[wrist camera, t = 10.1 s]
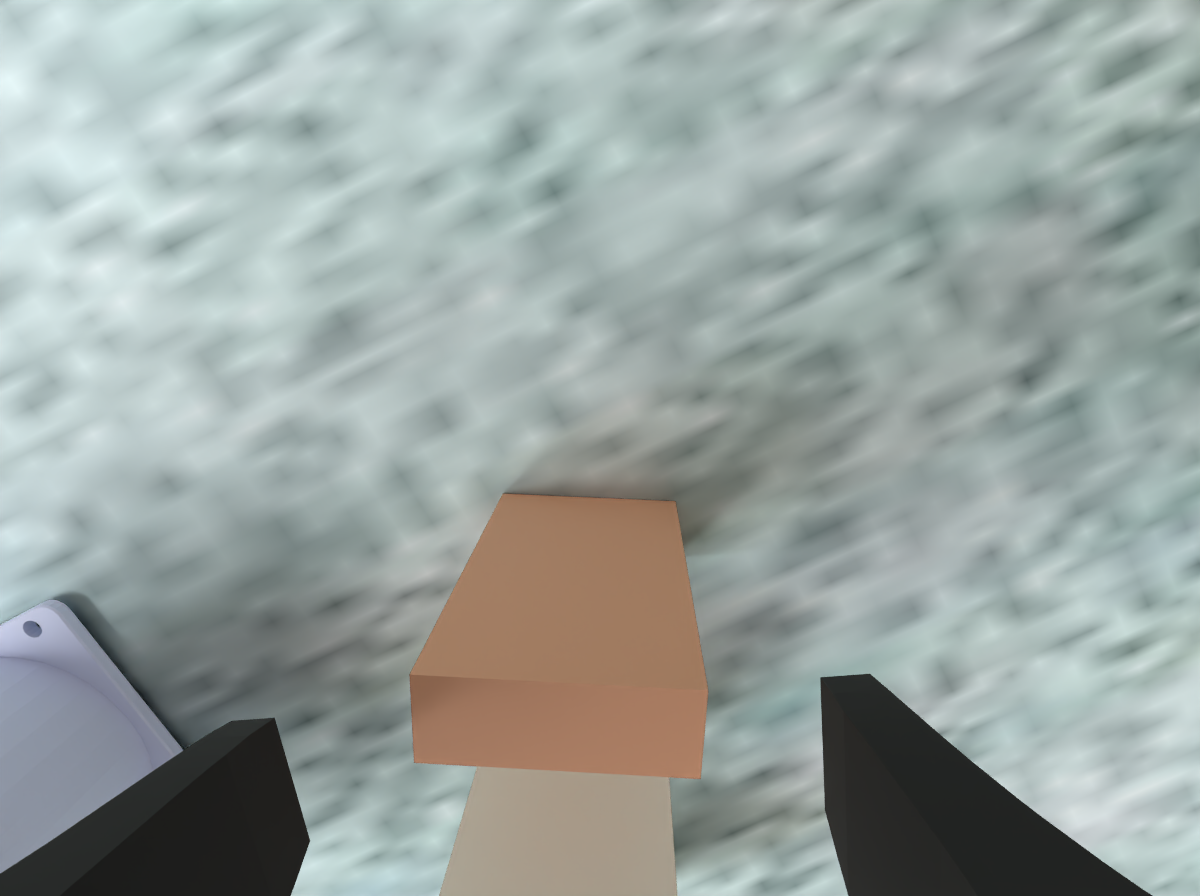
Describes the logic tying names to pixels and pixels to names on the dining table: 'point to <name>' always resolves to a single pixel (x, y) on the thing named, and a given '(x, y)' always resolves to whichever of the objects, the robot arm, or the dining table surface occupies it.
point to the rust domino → (567, 645)
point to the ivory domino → (563, 836)
